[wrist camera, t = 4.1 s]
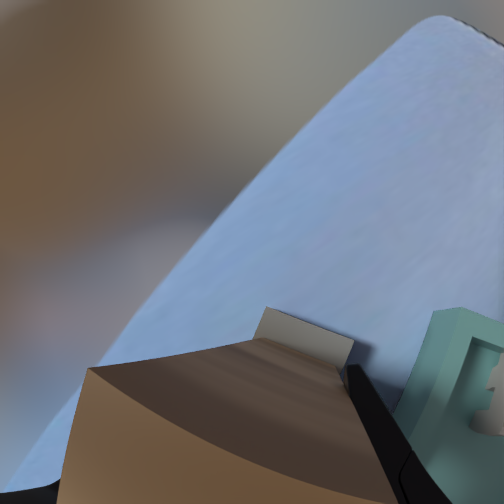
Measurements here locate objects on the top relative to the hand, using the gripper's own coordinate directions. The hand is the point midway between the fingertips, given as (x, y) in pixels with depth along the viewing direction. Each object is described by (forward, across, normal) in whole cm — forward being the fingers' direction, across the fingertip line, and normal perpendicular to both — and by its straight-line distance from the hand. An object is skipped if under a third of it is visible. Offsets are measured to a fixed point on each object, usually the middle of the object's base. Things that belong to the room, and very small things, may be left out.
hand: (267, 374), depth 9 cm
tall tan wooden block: (+4, 0, +6) cm, 7 cm away
